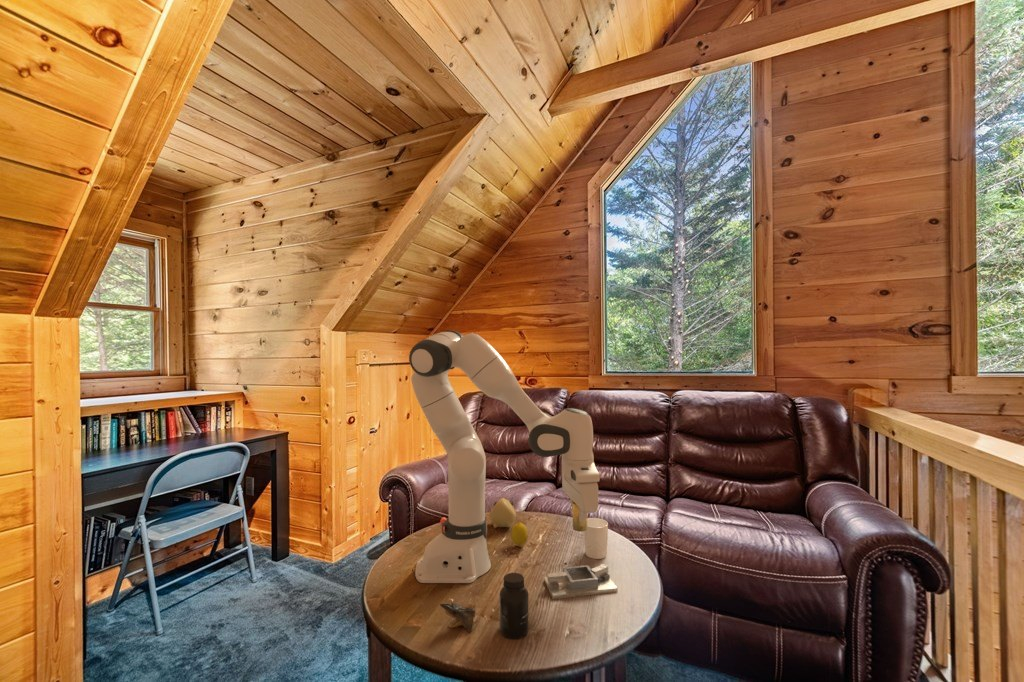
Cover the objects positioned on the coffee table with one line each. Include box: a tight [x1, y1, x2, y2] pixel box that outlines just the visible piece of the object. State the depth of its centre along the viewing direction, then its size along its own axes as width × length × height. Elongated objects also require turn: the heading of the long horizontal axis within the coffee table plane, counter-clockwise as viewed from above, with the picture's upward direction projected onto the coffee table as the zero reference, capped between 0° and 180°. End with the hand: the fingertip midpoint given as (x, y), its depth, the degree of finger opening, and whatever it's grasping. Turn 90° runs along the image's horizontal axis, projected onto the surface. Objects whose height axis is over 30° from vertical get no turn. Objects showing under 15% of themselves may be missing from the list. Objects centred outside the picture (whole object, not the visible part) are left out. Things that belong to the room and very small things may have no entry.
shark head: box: [439, 602, 476, 633], centre depth 98 cm, size 8×6×7 cm
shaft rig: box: [543, 563, 618, 600], centre depth 115 cm, size 18×9×4 cm, turn 100°
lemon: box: [510, 521, 529, 547], centre depth 139 cm, size 6×6×8 cm
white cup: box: [582, 517, 609, 560], centre depth 133 cm, size 8×8×10 cm
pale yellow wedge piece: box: [488, 497, 517, 529], centre depth 155 cm, size 10×12×11 cm
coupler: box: [571, 501, 588, 532], centre depth 115 cm, size 4×4×7 cm
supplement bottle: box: [498, 572, 530, 640], centre depth 97 cm, size 7×7×12 cm
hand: (578, 517), depth 115 cm, fingers closed on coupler, 4 cm apart
